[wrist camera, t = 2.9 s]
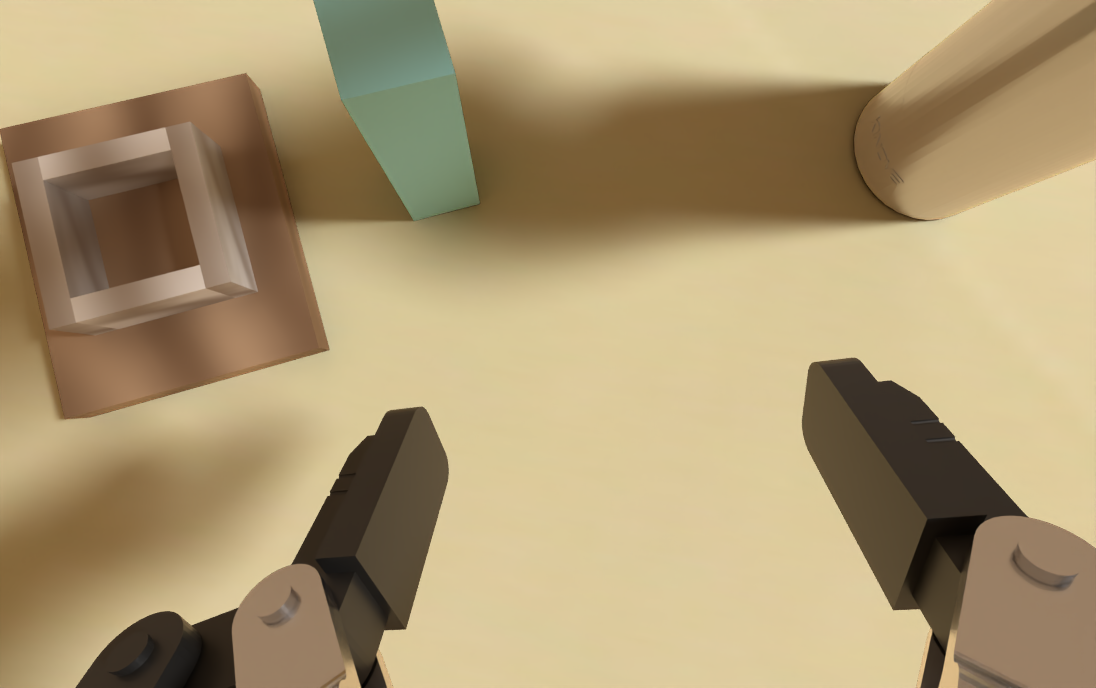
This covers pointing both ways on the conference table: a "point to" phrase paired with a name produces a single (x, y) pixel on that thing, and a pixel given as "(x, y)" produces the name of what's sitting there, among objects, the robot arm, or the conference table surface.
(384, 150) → the teal post
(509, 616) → the conference table surface
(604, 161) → the conference table surface
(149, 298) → the walnut socket plate
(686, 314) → the conference table surface
